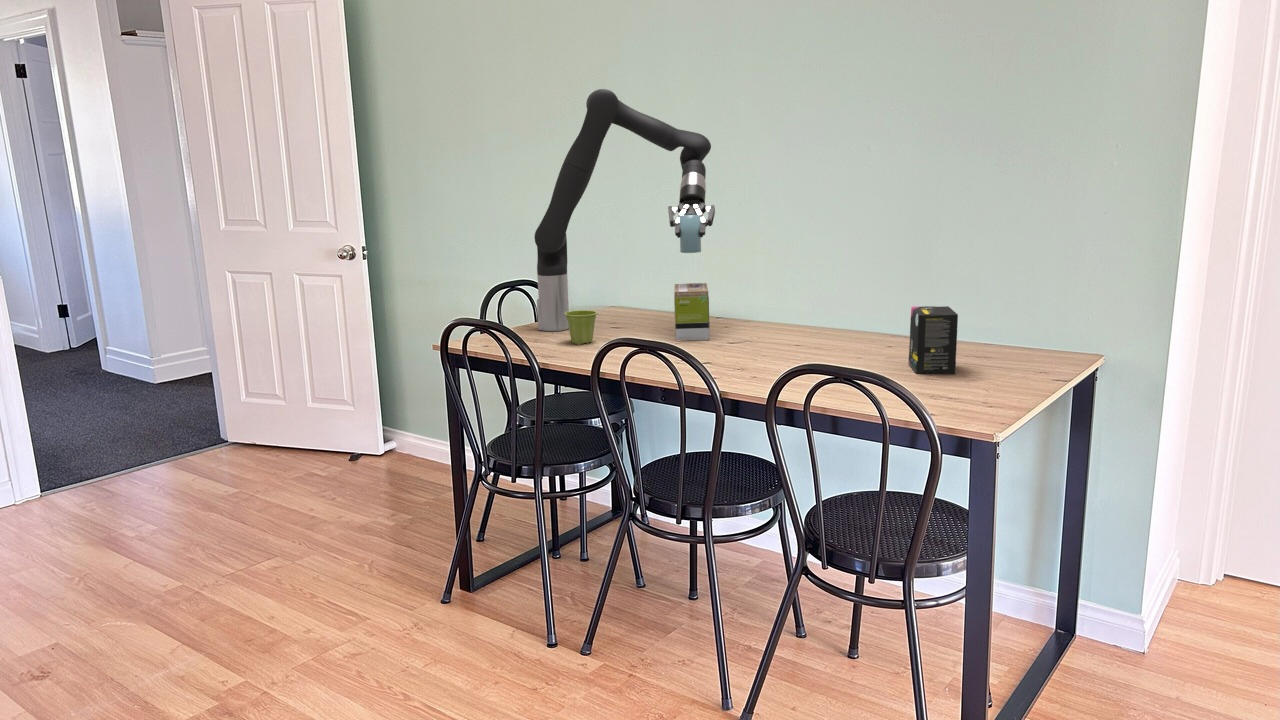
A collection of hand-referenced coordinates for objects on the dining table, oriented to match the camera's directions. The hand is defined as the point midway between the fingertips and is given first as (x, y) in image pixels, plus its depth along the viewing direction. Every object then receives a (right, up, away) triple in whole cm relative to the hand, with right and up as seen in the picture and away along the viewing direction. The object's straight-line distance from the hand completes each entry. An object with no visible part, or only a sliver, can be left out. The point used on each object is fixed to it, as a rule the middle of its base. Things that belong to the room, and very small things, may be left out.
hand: (689, 235), depth 263 cm
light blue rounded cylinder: (0, -4, +3) cm, 5 cm away
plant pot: (-31, -31, +3) cm, 44 cm away
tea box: (+1, -29, +8) cm, 30 cm away
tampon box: (+56, -38, -40) cm, 79 cm away
